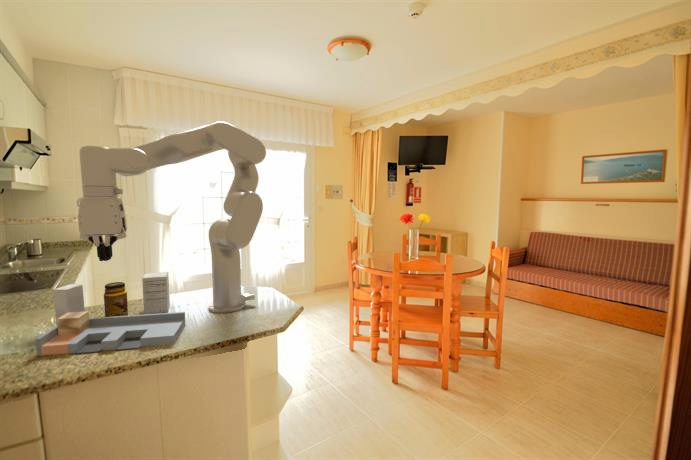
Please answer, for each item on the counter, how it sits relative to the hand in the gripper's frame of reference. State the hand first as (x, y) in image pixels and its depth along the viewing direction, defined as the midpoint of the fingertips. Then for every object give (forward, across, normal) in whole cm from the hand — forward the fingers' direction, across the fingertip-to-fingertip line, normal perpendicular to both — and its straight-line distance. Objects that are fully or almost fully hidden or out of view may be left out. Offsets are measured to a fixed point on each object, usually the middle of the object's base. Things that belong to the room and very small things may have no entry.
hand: (105, 259), depth 91 cm
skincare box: (+22, +16, -12) cm, 29 cm away
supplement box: (+22, -6, -21) cm, 31 cm away
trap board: (+22, -4, +3) cm, 22 cm away
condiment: (+22, +4, -13) cm, 26 cm away
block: (+20, +9, 0) cm, 21 cm away
